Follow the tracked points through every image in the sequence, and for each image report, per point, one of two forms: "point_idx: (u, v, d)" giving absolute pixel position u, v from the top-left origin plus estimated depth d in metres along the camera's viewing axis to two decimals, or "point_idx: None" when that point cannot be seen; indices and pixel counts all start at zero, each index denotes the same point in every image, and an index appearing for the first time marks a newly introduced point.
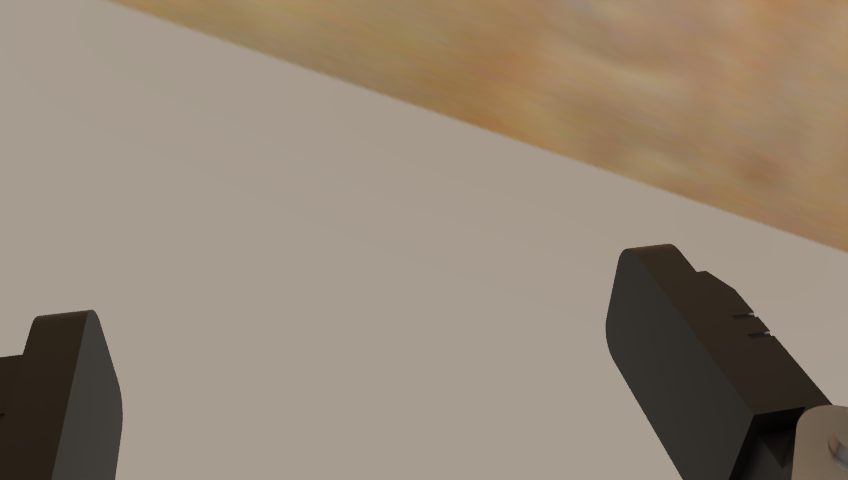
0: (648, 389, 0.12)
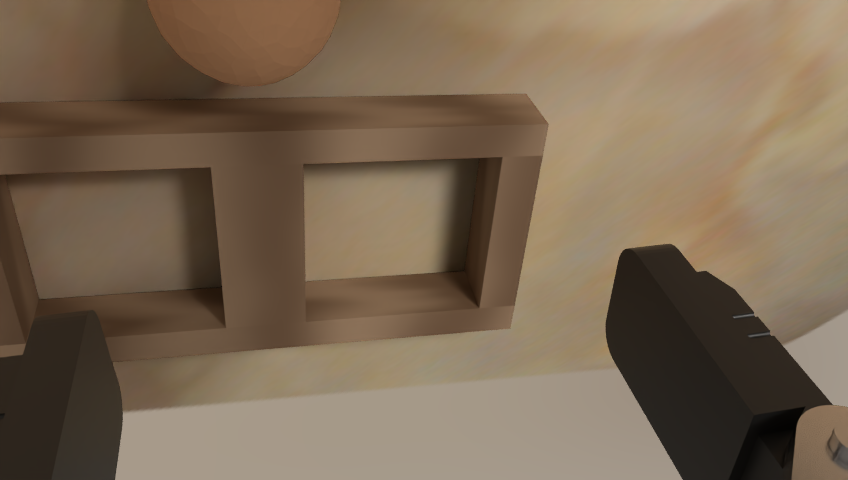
0: (648, 389, 0.12)
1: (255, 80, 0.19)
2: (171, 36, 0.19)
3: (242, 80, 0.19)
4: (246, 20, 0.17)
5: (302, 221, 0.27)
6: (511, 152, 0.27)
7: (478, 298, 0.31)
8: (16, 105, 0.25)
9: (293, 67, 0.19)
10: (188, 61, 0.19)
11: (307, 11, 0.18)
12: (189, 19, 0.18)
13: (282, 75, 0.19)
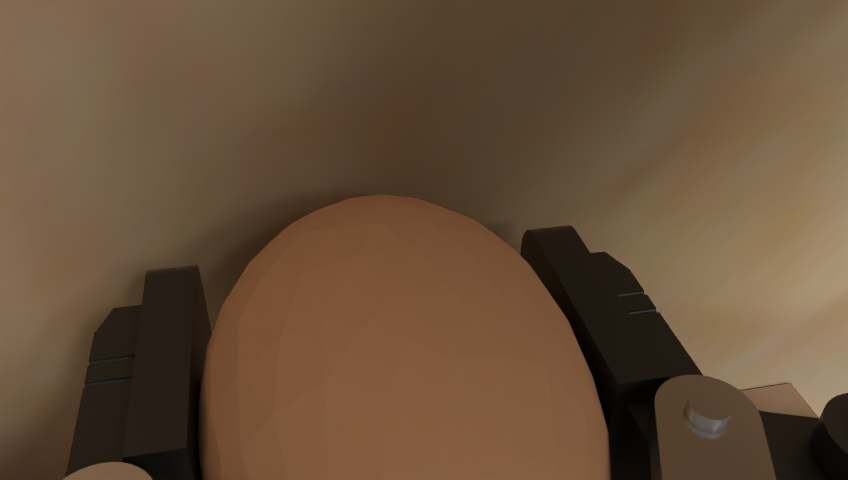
0: None
1: None
2: None
3: None
4: None
5: None
6: None
7: None
8: None
9: None
10: None
11: None
12: None
13: None
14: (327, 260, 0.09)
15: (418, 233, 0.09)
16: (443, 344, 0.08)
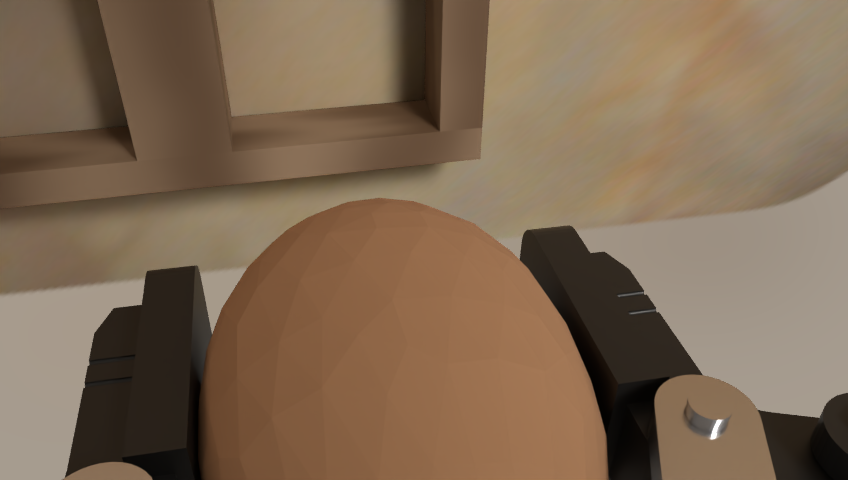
0: None
1: None
2: None
3: None
4: None
5: (207, 12, 0.22)
6: None
7: (438, 120, 0.26)
8: None
9: None
10: None
11: None
12: None
13: None
14: (325, 264, 0.09)
15: (416, 237, 0.09)
16: (440, 347, 0.08)
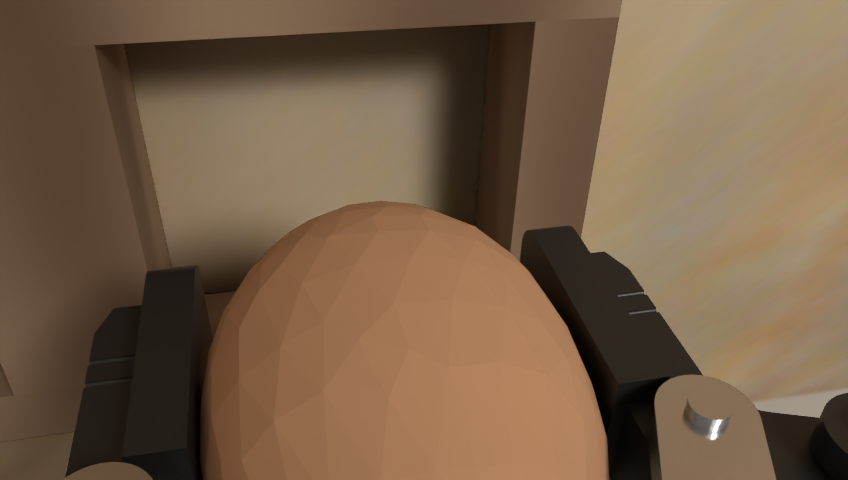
0: None
1: None
2: None
3: None
4: None
5: (121, 177, 0.13)
6: (554, 9, 0.13)
7: None
8: None
9: None
10: None
11: None
12: None
13: None
14: (326, 267, 0.09)
15: (419, 240, 0.09)
16: (442, 352, 0.08)
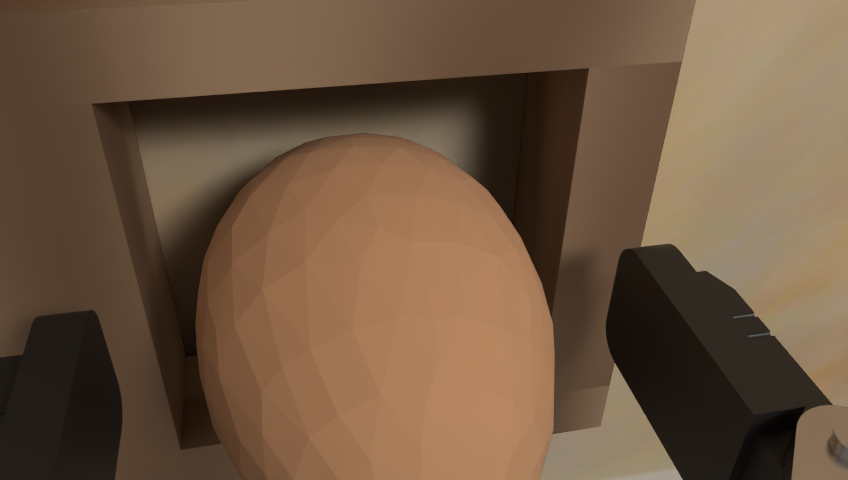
0: (648, 389, 0.12)
1: None
2: None
3: None
4: None
5: (123, 245, 0.11)
6: (610, 55, 0.11)
7: None
8: None
9: None
10: None
11: (536, 468, 0.09)
12: None
13: None
14: (308, 173, 0.10)
15: (388, 153, 0.11)
16: (406, 231, 0.09)
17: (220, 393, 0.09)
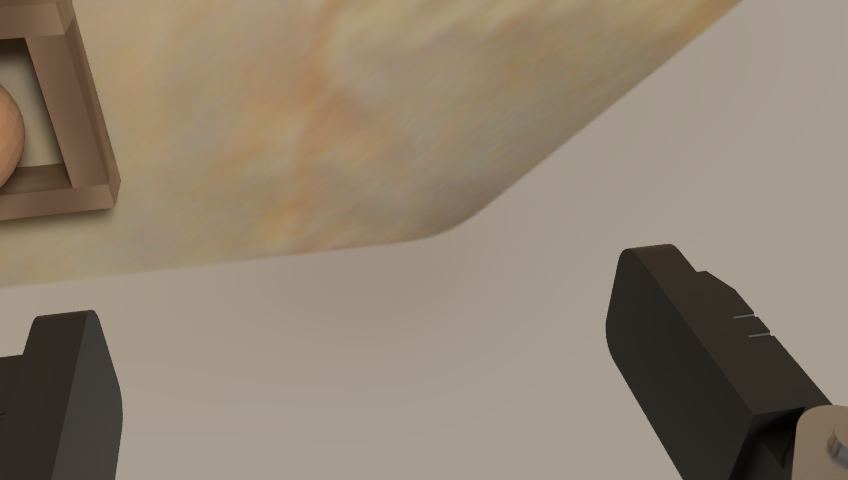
0: (648, 389, 0.12)
1: None
2: None
3: None
4: None
5: None
6: (31, 32, 0.30)
7: None
8: None
9: None
10: None
11: None
12: None
13: None
14: None
15: None
16: None
17: None
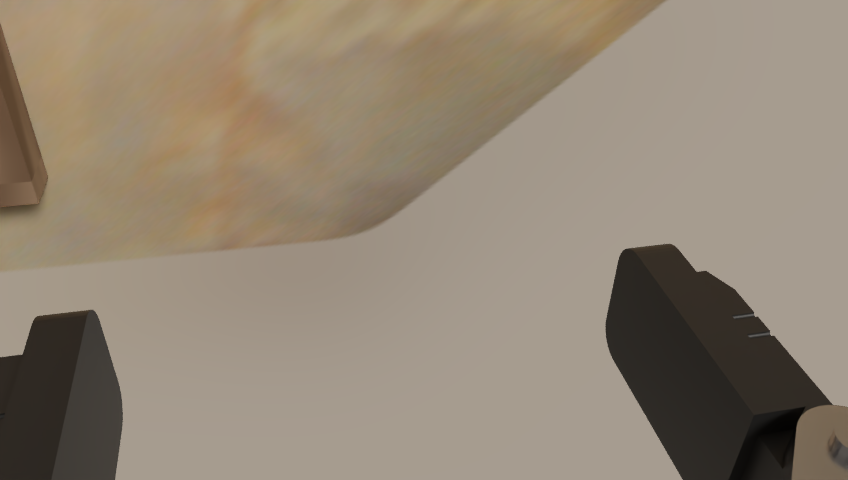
0: (648, 389, 0.12)
1: None
2: None
3: None
4: None
5: None
6: None
7: None
8: None
9: None
10: None
11: None
12: None
13: None
14: None
15: None
16: None
17: None
